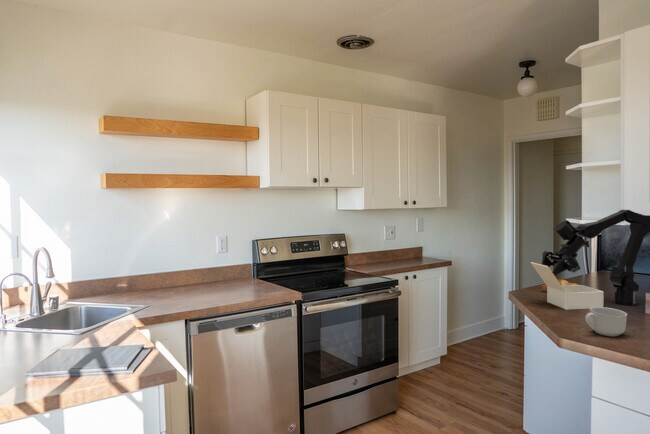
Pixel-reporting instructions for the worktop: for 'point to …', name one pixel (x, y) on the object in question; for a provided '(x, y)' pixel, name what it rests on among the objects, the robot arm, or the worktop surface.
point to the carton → (575, 297)
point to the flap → (547, 276)
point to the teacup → (606, 321)
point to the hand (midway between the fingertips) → (546, 274)
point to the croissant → (562, 282)
